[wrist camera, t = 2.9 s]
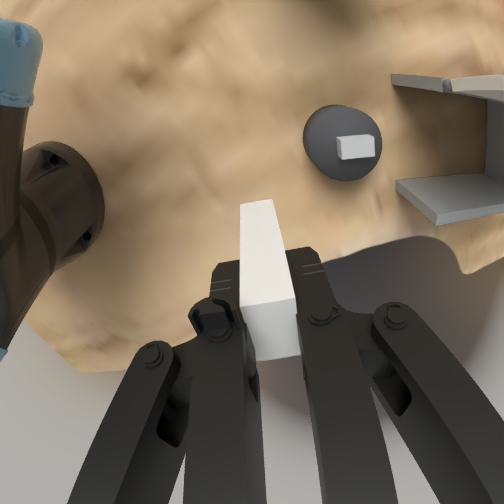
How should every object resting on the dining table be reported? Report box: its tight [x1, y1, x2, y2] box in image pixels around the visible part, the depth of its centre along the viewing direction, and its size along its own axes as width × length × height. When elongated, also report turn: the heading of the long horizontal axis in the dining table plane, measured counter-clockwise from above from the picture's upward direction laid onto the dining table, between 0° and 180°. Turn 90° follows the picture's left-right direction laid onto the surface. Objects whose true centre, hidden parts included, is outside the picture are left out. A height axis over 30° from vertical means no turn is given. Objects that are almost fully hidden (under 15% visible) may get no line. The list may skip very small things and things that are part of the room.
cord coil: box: [303, 105, 382, 181], centre depth 23 cm, size 7×7×5 cm
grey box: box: [391, 74, 504, 226], centre depth 20 cm, size 17×13×10 cm
